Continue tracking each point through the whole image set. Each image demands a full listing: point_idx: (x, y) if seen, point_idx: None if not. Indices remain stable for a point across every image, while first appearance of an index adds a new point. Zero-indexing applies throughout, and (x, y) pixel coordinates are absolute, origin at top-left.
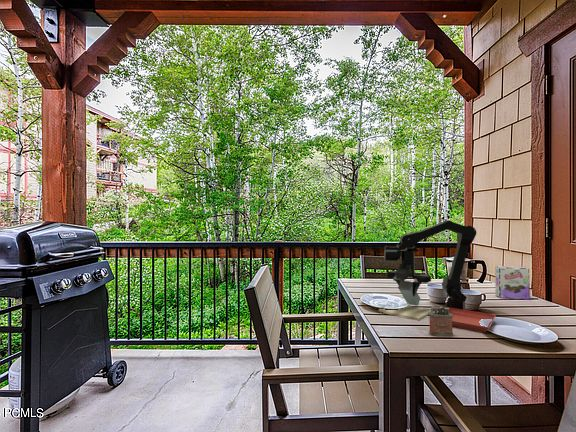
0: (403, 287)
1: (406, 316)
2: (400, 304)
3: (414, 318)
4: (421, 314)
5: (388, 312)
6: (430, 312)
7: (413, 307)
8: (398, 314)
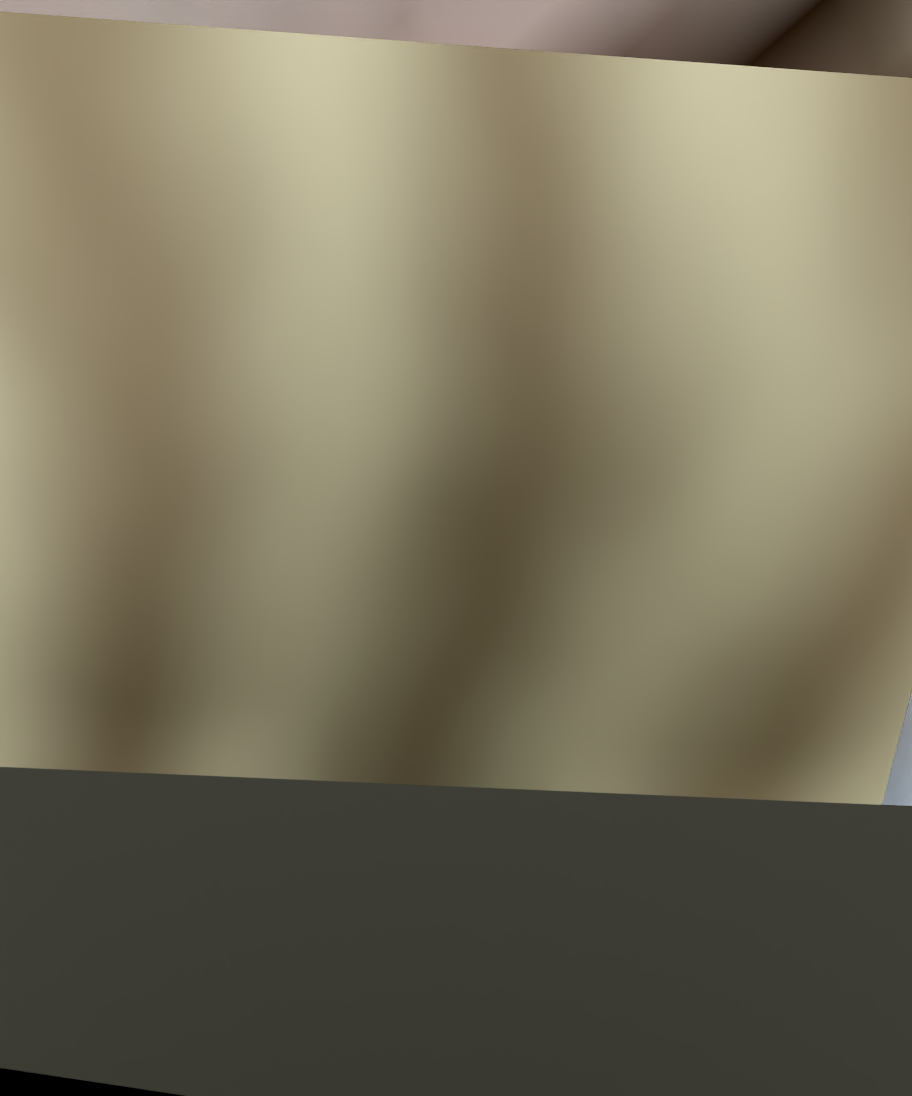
0: (559, 909)
1: (243, 36)
2: None
3: (27, 22)
4: (13, 406)
5: (758, 78)
6: (14, 758)
7: None
8: (468, 50)
